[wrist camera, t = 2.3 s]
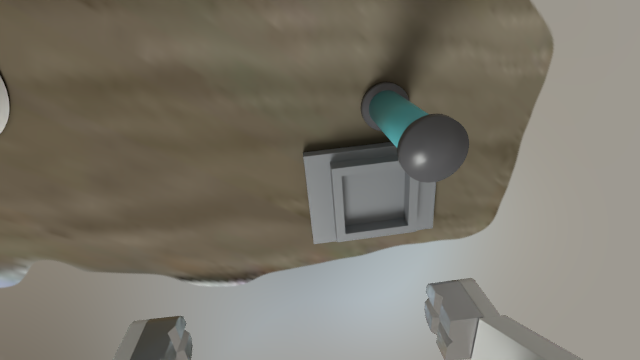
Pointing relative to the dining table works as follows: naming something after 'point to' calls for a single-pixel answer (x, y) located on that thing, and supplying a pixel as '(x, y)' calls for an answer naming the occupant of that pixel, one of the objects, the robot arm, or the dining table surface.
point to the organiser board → (364, 194)
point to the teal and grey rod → (416, 133)
